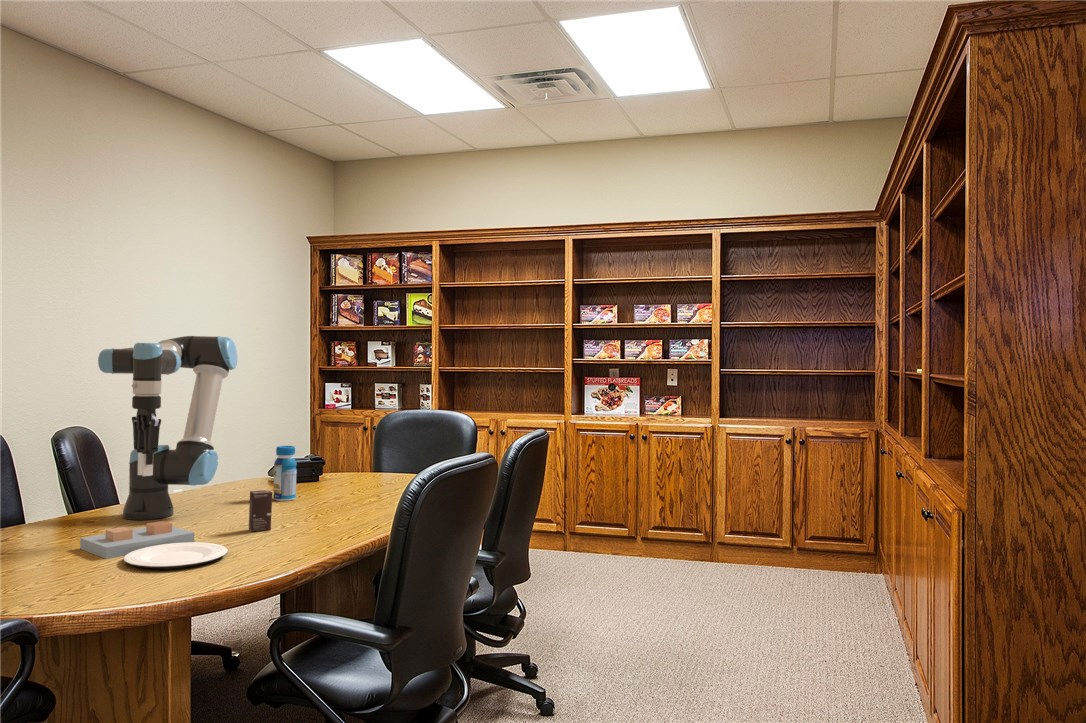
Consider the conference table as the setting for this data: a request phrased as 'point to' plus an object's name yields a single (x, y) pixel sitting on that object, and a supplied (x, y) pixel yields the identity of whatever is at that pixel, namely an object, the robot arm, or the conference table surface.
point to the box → (260, 510)
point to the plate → (175, 555)
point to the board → (133, 542)
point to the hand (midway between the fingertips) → (145, 475)
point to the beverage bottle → (285, 474)
